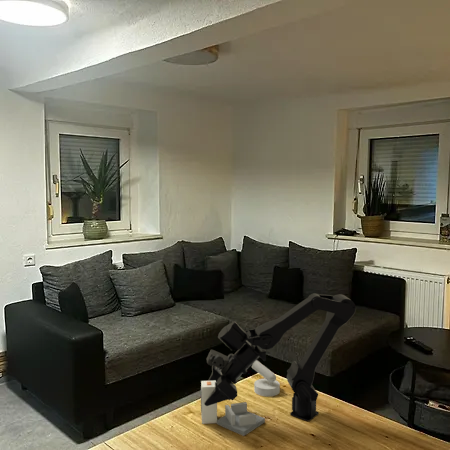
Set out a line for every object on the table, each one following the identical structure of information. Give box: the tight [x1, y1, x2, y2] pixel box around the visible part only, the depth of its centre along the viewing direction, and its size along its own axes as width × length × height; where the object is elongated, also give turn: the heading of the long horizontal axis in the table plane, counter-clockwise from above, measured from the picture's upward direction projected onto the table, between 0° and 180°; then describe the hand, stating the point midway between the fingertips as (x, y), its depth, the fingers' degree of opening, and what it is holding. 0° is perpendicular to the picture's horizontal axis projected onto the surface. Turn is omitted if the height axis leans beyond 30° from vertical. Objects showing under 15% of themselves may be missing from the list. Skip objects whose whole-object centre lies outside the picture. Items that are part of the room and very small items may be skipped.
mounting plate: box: [216, 401, 266, 437], centre depth 135 cm, size 10×10×4 cm
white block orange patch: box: [200, 380, 218, 425], centre depth 137 cm, size 4×4×11 cm
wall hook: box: [251, 359, 281, 397], centre depth 157 cm, size 9×10×10 cm
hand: (204, 397), depth 137 cm, fingers open, 9 cm apart
